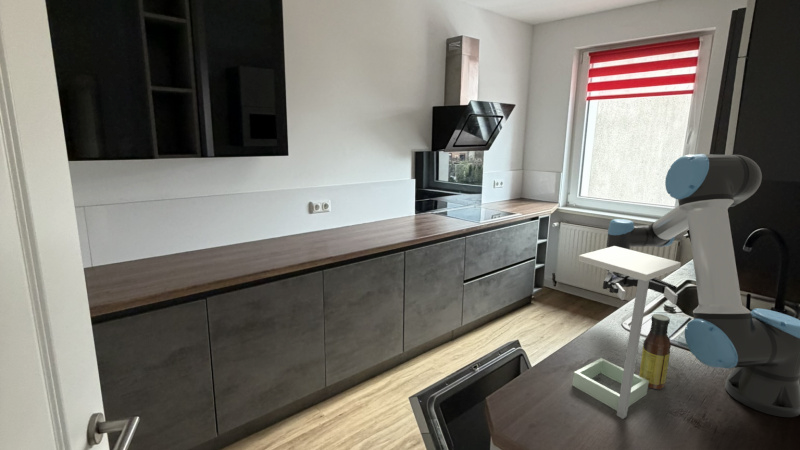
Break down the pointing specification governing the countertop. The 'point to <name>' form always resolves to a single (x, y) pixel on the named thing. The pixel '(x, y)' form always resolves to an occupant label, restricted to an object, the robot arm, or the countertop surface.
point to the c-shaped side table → (643, 270)
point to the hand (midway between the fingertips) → (649, 297)
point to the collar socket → (603, 393)
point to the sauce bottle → (656, 353)
